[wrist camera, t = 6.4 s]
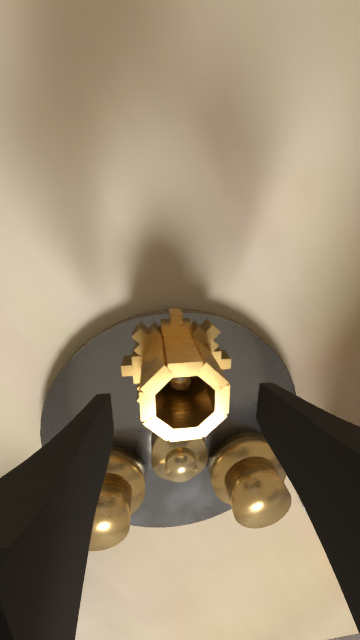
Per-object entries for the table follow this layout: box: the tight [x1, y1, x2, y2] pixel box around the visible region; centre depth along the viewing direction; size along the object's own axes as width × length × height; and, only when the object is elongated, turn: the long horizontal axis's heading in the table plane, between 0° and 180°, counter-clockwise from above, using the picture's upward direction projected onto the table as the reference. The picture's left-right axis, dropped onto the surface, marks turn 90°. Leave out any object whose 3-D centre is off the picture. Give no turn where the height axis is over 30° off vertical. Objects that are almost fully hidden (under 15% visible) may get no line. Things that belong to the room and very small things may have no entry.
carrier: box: [40, 310, 296, 551], centre depth 16 cm, size 19×19×4 cm
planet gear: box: [121, 308, 231, 442], centre depth 13 cm, size 7×7×5 cm
